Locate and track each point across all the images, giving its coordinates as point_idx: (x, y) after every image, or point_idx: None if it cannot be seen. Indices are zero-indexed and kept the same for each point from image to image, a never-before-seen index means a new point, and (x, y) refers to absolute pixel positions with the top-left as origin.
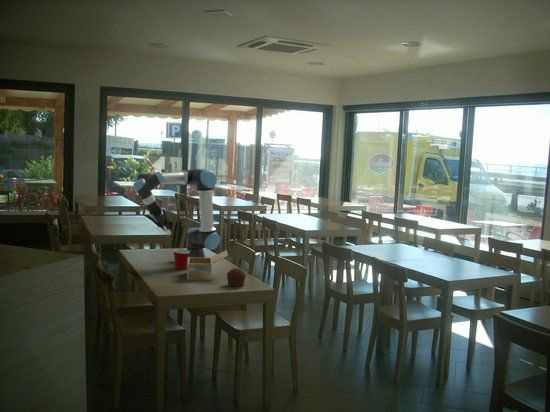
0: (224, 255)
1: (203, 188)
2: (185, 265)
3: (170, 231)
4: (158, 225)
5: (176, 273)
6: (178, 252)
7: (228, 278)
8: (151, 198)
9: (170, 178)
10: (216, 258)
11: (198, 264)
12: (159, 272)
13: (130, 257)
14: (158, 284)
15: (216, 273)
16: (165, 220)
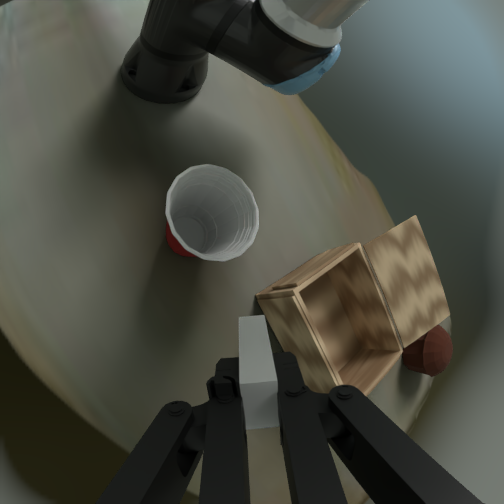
0: (435, 298)
1: None
2: (211, 225)
3: (266, 326)
4: (190, 460)
5: (225, 338)
6: (223, 260)
7: (420, 369)
8: None
9: None
10: (407, 301)
11: (375, 384)
12: (157, 368)
13: None
14: (272, 500)
15: (330, 243)
16: (350, 466)
